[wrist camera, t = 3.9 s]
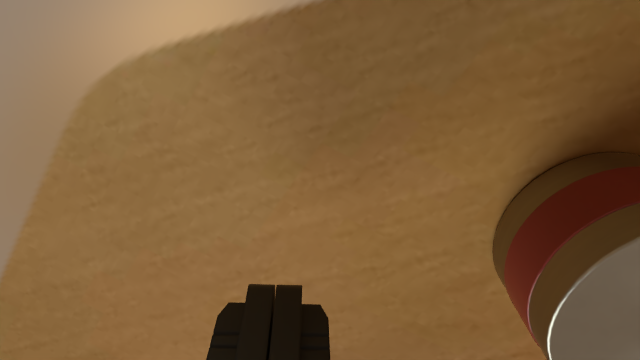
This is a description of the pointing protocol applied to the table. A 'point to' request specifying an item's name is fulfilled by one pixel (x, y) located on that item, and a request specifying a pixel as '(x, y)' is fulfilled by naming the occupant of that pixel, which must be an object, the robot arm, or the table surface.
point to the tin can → (576, 258)
